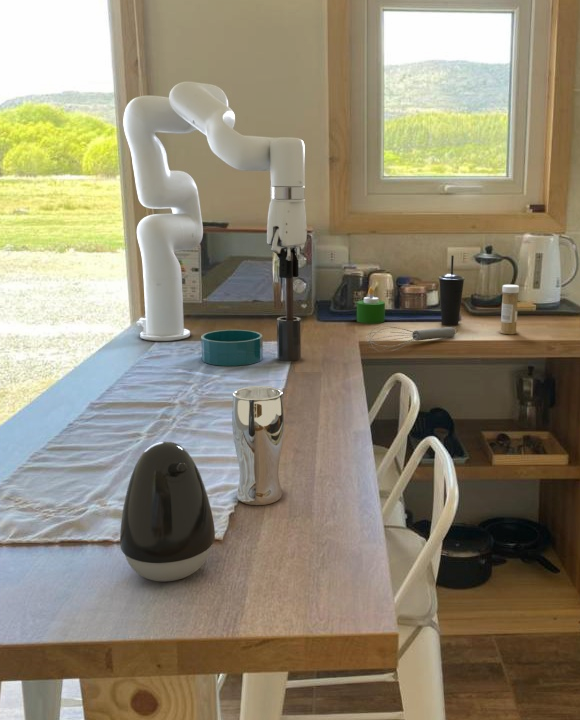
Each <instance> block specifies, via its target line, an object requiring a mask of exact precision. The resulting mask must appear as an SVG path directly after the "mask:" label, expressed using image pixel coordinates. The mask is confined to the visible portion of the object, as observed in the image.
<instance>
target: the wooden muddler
mask: <svg viewBox="0 0 580 720" xmlns="http://www.w3.org/2000/svg"><path fill="white" fill-rule="evenodd" d="M290 261H292V278H284V285H285V286H284V287H285V288H284V289H285V292H284V293H285V295H284V296H285V300H284V301H285V317H286V320H294V317H295V315H294V311H295V310H294V277H293V252H291V259H290Z"/></svg>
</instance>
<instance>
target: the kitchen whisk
mask: <svg viewBox="0 0 580 720" xmlns="http://www.w3.org/2000/svg"><path fill="white" fill-rule="evenodd" d="M381 327H382V328H381ZM383 327H385V328H383ZM377 328H381V329H379V330H377V331H373V330H375V329H377ZM388 328H392V326H391V325H390V326H389V325H382V326H381V325H380V326H376V327H374V328H373V329H371V330H370V332H369V333H368V334H367V336H366V338H367V339H368V340H367V341H366V344H368V346H369V348H370V350H373V351H377V352H379V353H382V351H381V350H379V349H376V348H375V347H374V346H373V344H374V345H377V346H379V347H383V345H382V344H381V345H380V344H378V343H381V342H382V343H383V340H379V341H377V343H376V342H375V341H374V340H378V339H385V336H382V337H376V338H374V336H375V335H376V334H378V333H379V332H381V331H384V330H386V329H388ZM393 329H397V330H399V329H400V330H404V331H407V332H404V334H401V332H398V331H391V333H393V334H395V337H402V338H398V340H401V339H403V336H405V335H410V338H411V339H409V340H407V341H403V342H401V343H399V344H395V345H392V346H391V345H384V348H383V349H382V350H384V351H385V350H388V349H391V351H396V350H399V349H402V348H403V347H405V346H407V345H409V344H411V343H412V342H414V341H415V342H418V341H426V340H436V339H444V338H451V337H454V336H455V335H456V334H457V333H458V331H459V329H458V328H457V327H456V326H453V327H451V326H446V327H437V328H427V329H426V328H425V329H417V330H409V329H407V328H402V327H397V326H393ZM372 331H373V332H372ZM410 332H411V333H410ZM371 334H372V337H370V339H369V337H368V336H370V335H371ZM396 334H398V335H396ZM391 337H392V339H391V341H395V340H397V338H394V339H393V335H389V336H386V338H391ZM408 338H409V336H405V337H404V339H408ZM389 341H390V339H387V340H385V342H389ZM404 344H405V345H404ZM401 345H403V346H401ZM371 346H372V347H371ZM398 346H400V347H398ZM385 347H387V348H385ZM394 347H398V348H395V349H392V348H394Z"/></svg>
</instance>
